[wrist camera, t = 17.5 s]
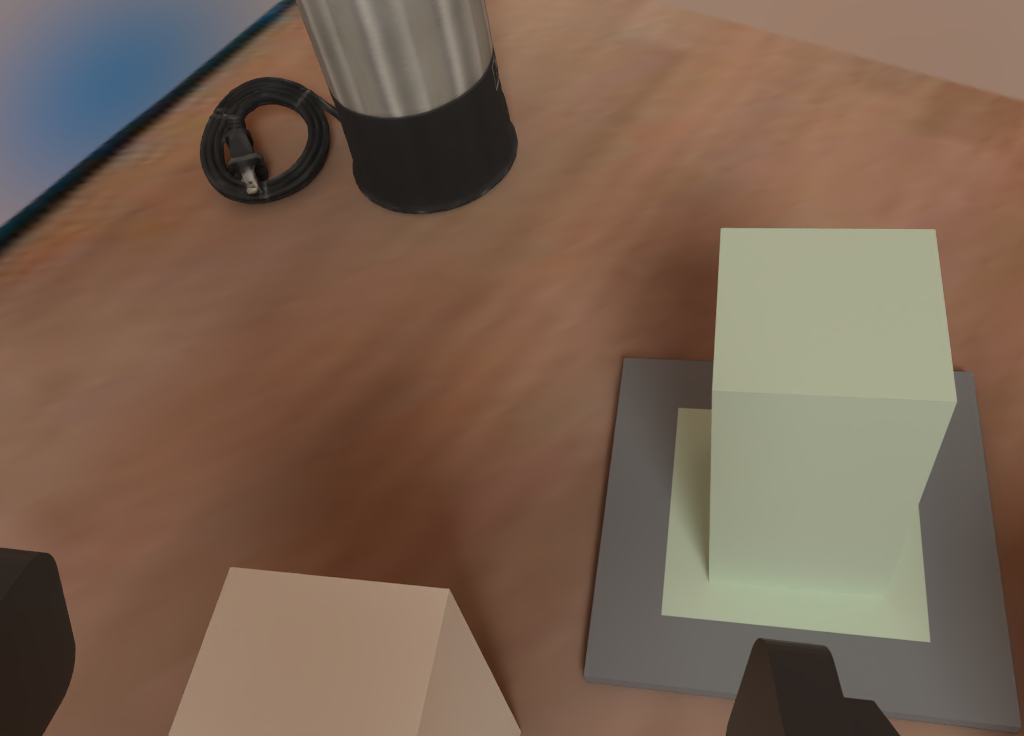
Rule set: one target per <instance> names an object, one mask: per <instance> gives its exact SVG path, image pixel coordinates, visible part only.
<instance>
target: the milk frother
mask: <svg viewBox="0 0 1024 736" xmlns="http://www.w3.org/2000/svg"><path fill="white" fill-rule="evenodd" d="M296 3H297V5H298V8H299V11H300V13H301V16H302V19H303V21H304V24H305V27H306V29H307V32H308V34H309V37H310V40H311V42H312V45H313V48H314V50H315V53H316V56H317V58H318V61H319V64H320V66H321V69H322V72H323V74H324V77H325V79H326V82H327V85H328V87H329V90H330V93H331V96H332V98H333V101H334V103H335V106H336V108H335V107H334V106H332V105H330V104H329V103H327V102H326V101H325V100H324V99H322V98H321V97H319V96H318V95H316V94H315V93H314V92H312V91H311V90H309V89H307V88H305V87H304V86H302V85H301V84H299V83H296V82H293V81H290V80H286V79H282V78H274V77H263V78H257V79H253V80H250V81H247V82H245V83H243V84H241V85H240V86H238V87H236V88H234V89H233V90H231V91H230V92H229V94H228V95H227V96H225V98H224V99H223V100H222V101H221V102H220V103H219V105H218V106H217V107H216V108H215V110H214V112H213V114H212V115H211V116H210V117H209V121H208V123H207V125H206V127H205V130H204V133H203V136H202V140H201V145H200V159H201V165H202V168H203V171H204V173H205V175H206V177H207V178H208V180H209V182H210V183H211V185H212V186H213V187H214V188H215V189H216V190H217V191H218V192H219V193H220V194H222V195H223V196H224V197H226V198H229V199H231V200H234V201H238V202H243V203H265V202H271V201H273V200H278V199H281V198H284V197H286V196H289V195H291V194H293V193H295V192H297V191H299V190H300V189H302V188H303V187H304V186H306V185H308V184H309V183H310V182H311V180H312V179H313V178H314V177H315V176H316V174H317V173H318V172H319V170H320V169H321V167H322V166H323V163H324V160H325V158H326V156H327V153H328V148H329V126H328V122H327V118H326V116H325V114H324V110H326V111H327V112H329V113H330V114H331V115H333V116H334V117H336V118H337V119H338V120H339V121H340V122H341V124H342V127H343V130H344V133H345V136H346V139H347V142H348V145H349V148H350V152H351V155H352V158H353V174H354V177H355V180H356V183H357V185H358V187H359V189H360V190H361V191H362V192H363V193H364V195H365V196H367V197H368V198H369V199H370V200H371V201H372V202H374V203H376V204H378V205H380V206H382V207H384V208H387V209H389V210H393V211H398V212H403V213H413V214H421V213H433V212H439V211H446V210H449V209H453V208H456V207H459V206H462V205H464V204H467V203H469V202H471V201H473V200H475V199H477V198H479V197H481V196H482V195H484V194H485V193H486V192H487V191H488V190H490V189H492V188H493V187H494V186H495V185H496V184H497V183H499V182H500V181H501V180H502V179H503V177H504V176H505V175H506V174H507V172H508V171H509V170H510V168H511V166H512V164H513V162H514V160H515V157H516V152H517V144H518V141H517V135H516V132H515V129H514V126H513V124H512V122H511V121H510V117H509V113H508V108H507V104H506V100H505V97H504V94H503V92H502V89H501V84H500V80H499V75H498V66H497V62H496V57H495V52H494V48H493V44H492V38H491V32H490V26H489V21H488V16H487V11H486V5H485V0H296ZM267 104H278V105H281V106H285V107H288V108H291V109H293V110H294V111H296V112H297V113H299V114H300V115H301V116H302V117H303V119H304V120H305V122H306V123H307V126H308V141H307V144H306V147H305V149H304V151H303V153H302V155H301V156H300V158H299V159H298V160H297V161H296V163H295V164H293V165H292V166H291V168H290V169H288V170H287V171H285V172H284V173H282V174H281V175H279V176H277V177H275V178H272V179H269V180H267V178H268V171H267V169H266V166H265V163H264V159H263V156H262V155H261V154H259V153H255V152H254V149H253V140H252V137H251V134H250V132H249V131H248V130H246V125H245V121H244V119H245V117H246V116H247V115H248V114H249V113H250V112H252V111H253V110H254V109H256V108H257V107H259V106H262V105H267ZM225 142H226V143H227V145H228V148H229V149H230V154H231V158H232V159H230V160H228V161H227V166H228V169H229V170H228V169H227V167H226V164H225V160H224V149H223V145H224V143H225ZM265 180H266V181H265Z"/></svg>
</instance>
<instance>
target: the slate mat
mask: <svg viewBox="0 0 1024 736" xmlns="http://www.w3.org/2000/svg"><path fill="white" fill-rule="evenodd" d="M713 365H714V361H694V360H670V359H646V358H624V363H623V371H622V378H621V386H620V394H619V402H618V410H617V418H616V425H615V433H614V441H613V449H612V457H611V465H610V473H609V480H608V488H607V496H606V504H605V512H604V520H603V528H602V535H601V543H600V551H599V559H598V567H597V575H596V582H595V590H594V598H593V606H592V614H591V622H590V630H589V637H588V645H587V653H586V661H585V669H584V679H585V681H586V682H594V683H602V684H611V685H619V686H628V687H636V688H644V689H653V690H661V691H669V692H678V693H686V694H695V695H703V696H711V697H720V698H728V699H736V697H737V693H738V690H739V687H740V684H741V681H742V678H743V675H744V672H745V668H746V665H747V662H748V659H749V656H750V653H751V650H752V647H753V644H754V643H755V641H756V640H757V639H758V638H766V639H775V640H783V641H792V642H801V643H809V644H818V645H825V646H826V647H828V649H829V650H830V652H831V654H832V656H833V659H834V663H835V666H836V670H837V674H838V677H839V681H840V685H841V688H842V692H843V696H844V697H847V698H856V699H864V700H873V701H874V702H875V703H876V704H877V706H878V707H879V708H880V710H881V711H882V712H883V714H884V715H885V716H886V717H887V718H895V719H904V720H912V721H920V722H929V723H937V724H946V725H954V726H962V727H971V728H979V729H987V730H996V731H1004V732H1013V733H1017V732H1018V731H1019V730H1020V729H1021V728H1022V726H1021V718H1020V711H1019V704H1018V696H1017V689H1016V682H1015V675H1014V667H1013V660H1012V653H1011V645H1010V638H1009V631H1008V624H1007V616H1006V609H1005V602H1004V594H1003V587H1002V580H1001V573H1000V565H999V558H998V551H997V543H996V536H995V529H994V521H993V514H992V507H991V500H990V492H989V485H988V478H987V470H986V463H985V456H984V449H983V441H982V434H981V427H980V419H979V412H978V405H977V398H976V390H975V383H974V376H973V372H962V371H953V373H954V381H955V388H956V396H957V403H956V406H955V409H954V411H953V414H952V417H951V419H950V422H949V425H948V427H947V430H946V433H945V435H944V438H943V441H942V443H941V446H940V449H939V451H938V454H937V457H936V459H935V462H934V465H933V467H932V470H931V473H930V475H929V478H928V481H927V483H926V486H925V489H924V491H923V494H922V497H921V499H920V502H919V505H918V507H917V510H916V513H915V515H914V518H913V521H912V523H911V526H910V529H909V531H908V534H907V537H906V539H905V542H904V545H903V547H902V550H901V553H900V555H899V558H898V560H897V563H896V566H895V568H894V571H893V574H892V576H891V579H890V582H889V584H888V587H887V590H886V592H885V595H884V597H879V596H868V595H857V594H845V593H834V592H823V591H812V590H800V589H789V588H778V587H767V586H755V585H744V584H733V583H722V582H711V581H709V539H710V483H711V426H712V384H713Z"/></svg>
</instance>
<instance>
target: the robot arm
mask: <svg viewBox="0 0 1024 736" xmlns="http://www.w3.org/2000/svg"><path fill="white" fill-rule="evenodd" d="M74 663H75V641H74V637H73V632H72V628H71V624H70V620H69V615H68V611H67V607H66V602H65V598H64V594H63V590H62V585H61V581H60V577H59V573H58V568H57V565H56V562H55V560H54V558H53V557H52V556H51V555H50V554H48V553H42V552H34V551H25V550H16V549H8V548H0V736H42V735H43V733H44V732H45V730H46V728H47V726H48V725H49V723H50V721H51V719H52V718H53V716H54V714H55V712H56V711H57V709H58V707H59V705H60V704H61V702H62V700H63V698H64V696H65V694H66V692H67V689H68V687H69V684H70V681H71V677H72V674H73V669H74ZM726 736H900V735H899V734H898V732H897V731H896V730H895V728H894V727H893V726H892V724H891V723H890V722H889V720H888V719H887V718H886V716H885V715H884V714H883V712H882V711H881V710H880V708H879V707H878V706H877V704H876V703H875V702H874V701H873V700H864V699H856V698H847V697H844V696H843V692H842V688H841V685H840V681H839V677H838V674H837V670H836V666H835V663H834V659H833V656H832V654H831V652H830V650H829V649H828V647H826V646H825V645H818V644H809V643H801V642H792V641H783V640H775V639H766V638H758V639H757V640H756V641H755V643H754V644H753V647H752V650H751V653H750V656H749V659H748V662H747V665H746V668H745V672H744V675H743V678H742V681H741V684H740V687H739V690H738V693H737V697H736V700H735V703H734V706H733V709H732V712H731V715H730V718H729V722H728V726H727V731H726Z"/></svg>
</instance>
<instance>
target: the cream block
mask: <svg viewBox="0 0 1024 736" xmlns="http://www.w3.org/2000/svg"><path fill="white" fill-rule="evenodd" d="M520 735H521V730H520V729H519V727H518V725H517V723H516V721H515V719H514V717H513V715H512V713H511V711H510V709H509V707H508V705H507V703H506V701H505V699H504V697H503V695H502V693H501V691H500V689H499V687H498V685H497V683H496V681H495V679H494V677H493V675H492V673H491V671H490V669H489V667H488V665H487V663H486V661H485V659H484V657H483V655H482V653H481V651H480V649H479V647H478V645H477V643H476V641H475V639H474V637H473V635H472V633H471V631H470V629H469V627H468V625H467V623H466V621H465V619H464V617H463V615H462V613H461V611H460V609H459V607H458V605H457V603H456V601H455V599H454V597H453V595H452V593H451V591H450V589H444V588H435V587H425V586H415V585H405V584H395V583H385V582H375V581H365V580H355V579H345V578H335V577H325V576H315V575H306V574H296V573H286V572H276V571H266V570H256V569H246V568H236V567H230V569H229V572H228V575H227V578H226V580H225V583H224V586H223V588H222V591H221V594H220V597H219V599H218V602H217V605H216V607H215V610H214V613H213V616H212V618H211V621H210V624H209V626H208V629H207V632H206V635H205V637H204V640H203V643H202V645H201V648H200V651H199V654H198V656H197V659H196V662H195V664H194V667H193V670H192V673H191V675H190V678H189V681H188V683H187V686H186V689H185V692H184V694H183V697H182V700H181V702H180V705H179V708H178V711H177V713H176V716H175V719H174V721H173V724H172V727H171V730H170V732H169V735H168V736H520Z"/></svg>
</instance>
